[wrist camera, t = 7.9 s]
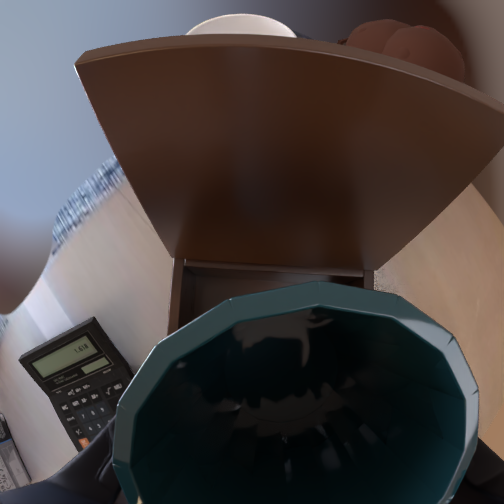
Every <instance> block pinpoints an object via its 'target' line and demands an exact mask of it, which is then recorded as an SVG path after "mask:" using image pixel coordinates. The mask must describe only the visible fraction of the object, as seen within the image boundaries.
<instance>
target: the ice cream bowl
mask: <svg viewBox="0 0 504 504" xmlns="http://www.w3.org/2000/svg"><path fill="white" fill-rule="evenodd" d="M337 44H340V45H345V46H350V47H355V48H359V49H363V50H368V51H372V52H375V53H379V54H383V55H386V56H390V57H393V58H397V59H400V60H403V61H406V62H409V63H412V64H415V65H418V66H421V67H424V68H427V69H429V70H432V71H435V72H437V73H440V74H442V75H445V76H447V77H449V78H452V79H454V80H456V81H459V82H461V83H463V84H464V77H465V75H464V74H465V65H464V62H463V60H462V55H461V53H460V52H459V51H458V50H457V49H456V48H455V46H454V45H453V44H452V43H451V42H450V41H449V40H448V39H447V37H445V36H443V35H442V34H440V33H438V31H436V30H435V29H433V28H430V27H427V26H422V25H418V26H415V27H411V26H409V25H407V24H404V23H401V22H398V21H394V20H391V19H386V20H378V21H372V22H367V23H363V24H362V25H360V26H358V27H357V28H356V29H354V30H353V31H352V33H351V35H350V36H349V38H347V39H342V40H338V43H337Z"/></svg>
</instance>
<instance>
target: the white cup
mask: <svg viewBox="0 0 504 504" xmlns="http://www.w3.org/2000/svg"><path fill="white" fill-rule="evenodd" d="M195 34H260V35H275V36H286V37H295V38H297V37H296V35H295V34H294V33H293V32H292V31H291V30H290V29H289V28H288V27H287V26H285V25H284V24H282V23H280V22H278V21H276V20H274V19H271V18H268V17H264V16H259V15H253V14H231V15H224V16H219V17H216V18H212V19H209V20H207V21H204V22H202V23H200V24H198V25H197V26H195V27H194V28H192V29H191V30H190V31H189V32H188V33H187V34H186V35H195Z"/></svg>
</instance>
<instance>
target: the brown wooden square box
mask: <svg viewBox="0 0 504 504" xmlns="http://www.w3.org/2000/svg"><path fill="white" fill-rule="evenodd" d="M321 280H322V281H327V282H333V283H338V284H343V285H349V286H354V287H359V288H365V289H370V290H374V270H360V269H342V268H324V267H307V266H290V265H274V264H258V263H242V262H227V261H212V260H198V259H184V258H174V260H173V270H172V280H171V290H170V302H169V315H168V329H167V336H169V335H170V334H172V333H174V332H175V331H177V330H178V329H180V328H182V327H183V326H185V325H186V324H188V323H190V322H191V321H193V320H194V319H196V318H198V317H199V316H201V315H202V314H204V313H205V312H207V311H209V310H210V309H212V308H213V307H215V306H216V305H218V304H220V303H221V302H223V301H224V300H226V299H230V298H231V297H235V296H240V295H245V294H251V293H256V292H261V291H266V290H271V289H276V288H281V287H286V286H291V285H296V284H301V283H306V282H310V281H321Z"/></svg>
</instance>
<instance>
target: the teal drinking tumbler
mask: <svg viewBox="0 0 504 504" xmlns="http://www.w3.org/2000/svg"><path fill="white" fill-rule="evenodd" d="M478 425H479V390H478V385H477V383H476V381H475V378H474V376H473V374H472V371H471V369H470V367H469V365H468V363H467V361H466V358H465V356H464V354H463V352H462V350H461V348H460V346H459V344H458V342H457V340H456V338H455V337H454V336H453V334H452V333H451V332H449V331H448V330H447V329H445V328H444V327H443V326H441V325H440V324H439V323H437V322H436V321H435V320H433V319H432V318H430V317H429V316H428V315H426V314H425V313H424V312H422V311H421V310H420V309H418V308H417V307H415V306H414V305H413V304H411V303H410V302H408V301H407V300H406V299H404V298H403V297H401V296H398V295H397V294H393V293H387V292H381V291H376V290H370V289H365V288H359V287H354V286H349V285H343V284H338V283H333V282H327V281H322V280H321V281H310V282H306V283H301V284H296V285H291V286H286V287H281V288H276V289H271V290H266V291H261V292H256V293H251V294H245V295H240V296H235V297H231V298H230V299H226V300H224V301H223V302H221V303H220V304H218V305H216V306H215V307H213V308H212V309H210V310H209V311H207V312H205V313H204V314H202V315H201V316H199V317H198V318H196V319H194V320H193V321H191V322H190V323H188V324H186V325H185V326H183V327H182V328H180V329H178V330H177V331H175V332H174V333H172V334H170V335H169V336H167V337H166V338H164V339H162V340H161V341H159V342H158V344H157V345H155V346H154V348H153V349H152V351H151V352H150V354H149V355H148V357H147V358H146V360H145V361H144V363H143V364H142V366H141V367H140V369H139V370H138V372H137V373H136V375H135V376H134V378H133V379H132V381H131V383H130V384H129V386H128V387H127V389H126V390H125V392H124V393H123V395H122V396H121V398H120V400H119V401H118V405H117V410H116V419H115V429H114V441H113V456H112V463H113V468H114V470H115V473H116V476H117V478H118V481H119V483H120V486H121V488H122V490H123V493H124V495H125V497H126V500H127V502H128V504H449V503H450V502H451V500H452V499H453V497H454V496H455V494H456V492H457V490H458V488H459V486H460V484H461V482H462V480H463V478H464V475H465V473H466V471H467V469H468V467H469V464H470V462H471V460H472V457H473V455H474V452H475V450H476V446H477V440H478Z"/></svg>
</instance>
